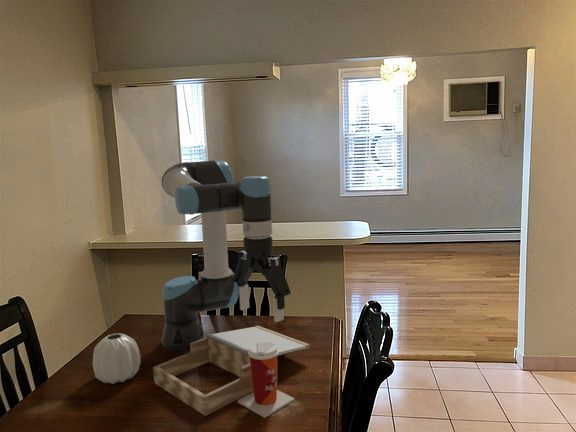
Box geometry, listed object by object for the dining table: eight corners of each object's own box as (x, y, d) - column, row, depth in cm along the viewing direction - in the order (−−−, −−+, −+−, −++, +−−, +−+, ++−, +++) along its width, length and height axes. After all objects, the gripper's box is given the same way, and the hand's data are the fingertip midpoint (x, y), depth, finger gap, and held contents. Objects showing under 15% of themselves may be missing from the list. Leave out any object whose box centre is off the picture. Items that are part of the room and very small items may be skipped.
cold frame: (154, 382, 140) (152, 357, 139) (210, 359, 154) (208, 336, 153) (205, 416, 121) (203, 387, 120) (263, 385, 136) (262, 359, 134)
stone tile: (237, 402, 127) (237, 400, 127) (267, 386, 135) (267, 384, 135) (264, 417, 120) (264, 415, 119) (294, 400, 127) (294, 398, 127)
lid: (207, 348, 153) (206, 334, 152) (257, 328, 168) (257, 315, 167) (259, 373, 135) (258, 356, 134) (310, 348, 150) (309, 333, 149)
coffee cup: (277, 408, 122) (274, 355, 120) (246, 406, 124) (244, 353, 122) (283, 392, 130) (281, 341, 128) (255, 390, 132) (252, 340, 130)
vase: (128, 363, 154) (125, 324, 152) (149, 376, 144) (145, 335, 142) (86, 378, 144) (82, 337, 142) (105, 394, 135) (101, 350, 133)
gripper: (216, 233, 127) (221, 307, 130) (280, 245, 109) (284, 330, 112) (238, 228, 132) (242, 300, 135) (302, 239, 114) (305, 321, 118)
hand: (261, 314), depth 124 cm, fingers open, 13 cm apart
